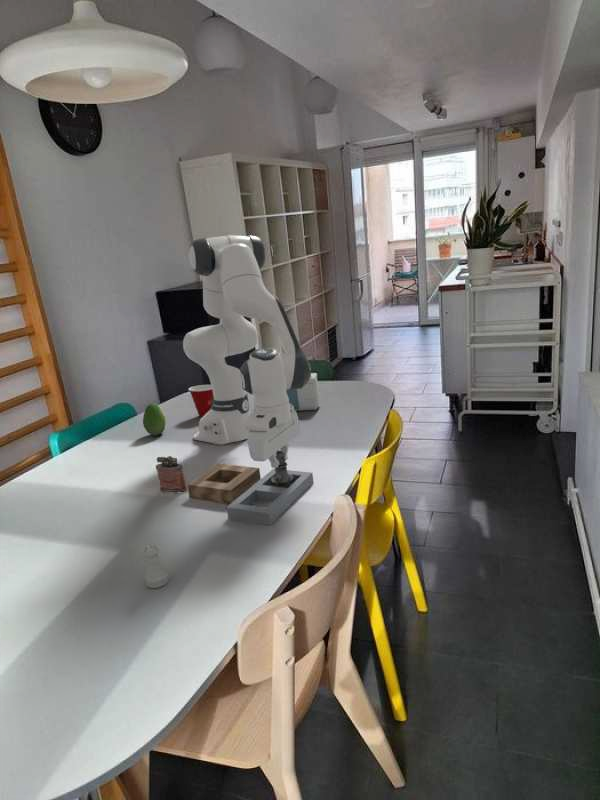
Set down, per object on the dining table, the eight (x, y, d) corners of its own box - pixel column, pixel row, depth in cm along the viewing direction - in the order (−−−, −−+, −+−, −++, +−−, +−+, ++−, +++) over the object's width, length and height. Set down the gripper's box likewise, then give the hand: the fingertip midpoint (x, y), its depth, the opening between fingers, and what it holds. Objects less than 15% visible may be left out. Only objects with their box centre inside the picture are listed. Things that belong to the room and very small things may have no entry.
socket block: (189, 498, 146) (187, 484, 145) (219, 476, 158) (217, 463, 157) (232, 504, 139) (230, 490, 138) (261, 481, 151) (259, 468, 150)
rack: (228, 518, 133) (226, 507, 132) (274, 478, 152) (273, 468, 151) (270, 525, 127) (269, 513, 126) (313, 482, 146) (312, 472, 145)
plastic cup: (226, 412, 219) (221, 383, 216) (208, 420, 211) (203, 391, 207) (206, 410, 225) (201, 382, 222) (187, 418, 217) (182, 389, 213)
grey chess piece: (292, 495, 140) (286, 452, 137) (270, 495, 142) (264, 453, 138) (296, 485, 146) (291, 443, 143) (275, 485, 147) (269, 444, 144)
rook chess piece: (148, 577, 112) (141, 543, 110) (170, 574, 112) (163, 540, 110) (144, 591, 108) (136, 555, 105) (167, 587, 108) (159, 552, 106)
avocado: (170, 430, 205) (164, 399, 201) (163, 437, 197) (157, 406, 194) (150, 431, 206) (144, 401, 202) (142, 439, 198) (135, 407, 195)
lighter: (189, 488, 152) (183, 454, 150) (183, 493, 149) (176, 459, 147) (164, 486, 155) (158, 454, 152) (158, 492, 152) (151, 459, 149)
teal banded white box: (265, 413, 211) (258, 363, 206) (270, 407, 219) (264, 358, 213) (317, 411, 206) (312, 360, 201) (321, 404, 214) (316, 355, 208)
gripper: (281, 400, 148) (288, 447, 152) (240, 425, 131) (248, 478, 135) (302, 401, 145) (308, 449, 149) (263, 427, 128) (270, 481, 132)
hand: (279, 463), depth 142 cm, fingers closed on grey chess piece, 3 cm apart
